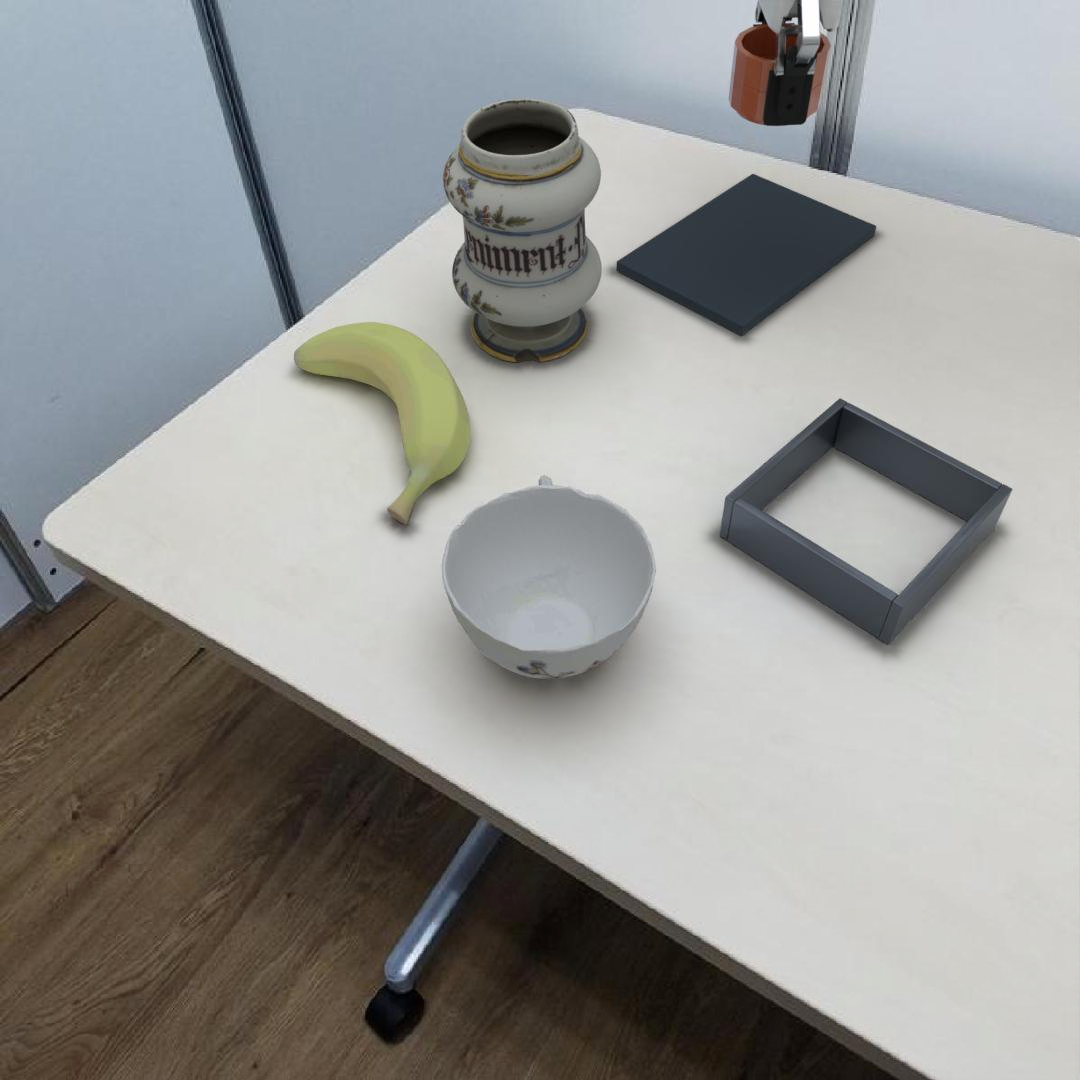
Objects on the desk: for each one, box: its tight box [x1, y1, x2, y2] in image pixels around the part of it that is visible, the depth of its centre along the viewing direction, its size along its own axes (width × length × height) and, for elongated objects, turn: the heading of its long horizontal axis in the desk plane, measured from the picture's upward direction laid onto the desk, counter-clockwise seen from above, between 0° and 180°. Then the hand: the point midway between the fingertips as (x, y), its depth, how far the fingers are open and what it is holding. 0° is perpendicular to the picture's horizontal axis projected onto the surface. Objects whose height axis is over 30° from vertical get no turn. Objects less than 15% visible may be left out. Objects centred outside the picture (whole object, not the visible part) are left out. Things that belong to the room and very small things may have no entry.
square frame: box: [719, 397, 1013, 646], centre depth 68 cm, size 13×13×4 cm
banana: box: [293, 321, 472, 525], centre depth 77 cm, size 14×6×20 cm
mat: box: [615, 173, 877, 337], centre depth 92 cm, size 20×14×1 cm
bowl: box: [728, 22, 832, 127], centre depth 78 cm, size 7×7×5 cm
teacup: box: [441, 474, 657, 680], centre depth 63 cm, size 15×12×8 cm
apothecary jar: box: [442, 97, 603, 363], centre depth 79 cm, size 12×12×18 cm
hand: (775, 97), depth 79 cm, fingers closed on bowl, 7 cm apart
